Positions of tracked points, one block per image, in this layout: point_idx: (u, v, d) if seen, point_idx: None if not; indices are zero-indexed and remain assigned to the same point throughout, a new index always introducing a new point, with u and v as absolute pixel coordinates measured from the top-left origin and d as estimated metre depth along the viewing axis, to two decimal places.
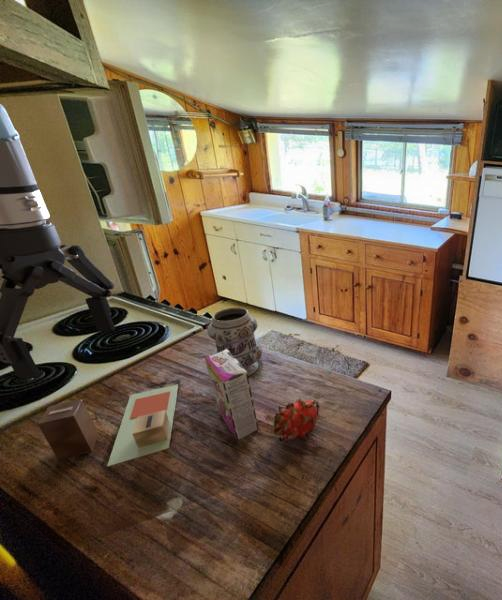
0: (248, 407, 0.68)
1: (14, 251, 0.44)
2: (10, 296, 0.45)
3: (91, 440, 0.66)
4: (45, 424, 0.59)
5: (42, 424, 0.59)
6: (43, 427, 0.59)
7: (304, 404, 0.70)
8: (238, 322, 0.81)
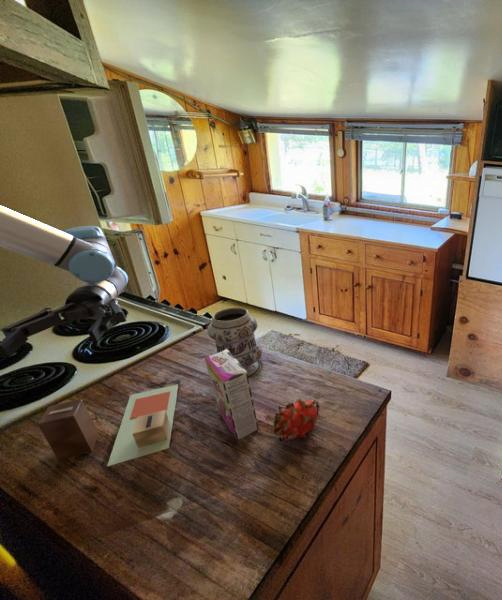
0: (248, 406, 0.68)
1: (105, 309, 0.80)
2: None
3: (91, 440, 0.66)
4: (45, 424, 0.59)
5: (42, 424, 0.59)
6: (43, 427, 0.59)
7: (304, 404, 0.70)
8: (238, 322, 0.81)
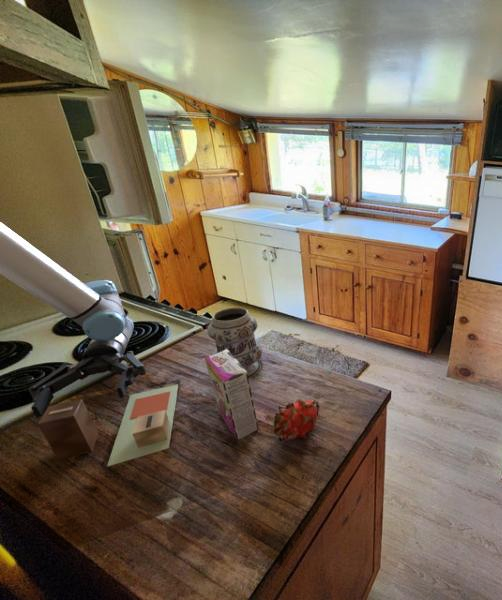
0: (248, 407, 0.68)
1: None
2: None
3: (91, 440, 0.66)
4: (45, 424, 0.59)
5: (42, 424, 0.59)
6: (43, 427, 0.59)
7: (304, 404, 0.70)
8: (238, 322, 0.81)
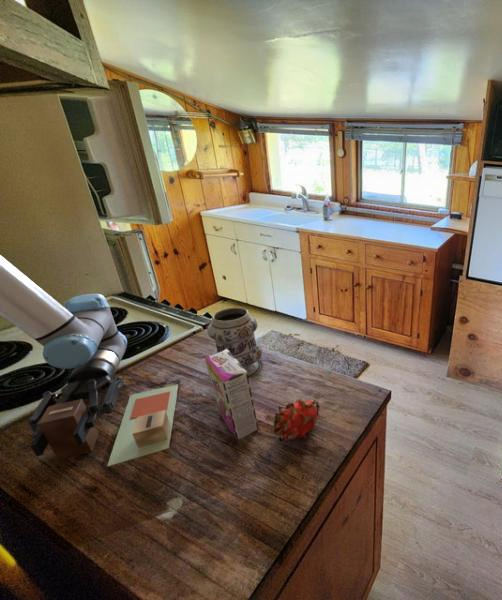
0: (248, 406, 0.68)
1: None
2: (98, 395, 0.71)
3: (91, 440, 0.66)
4: (45, 424, 0.59)
5: (42, 424, 0.59)
6: (42, 427, 0.59)
7: (304, 404, 0.70)
8: (238, 322, 0.81)
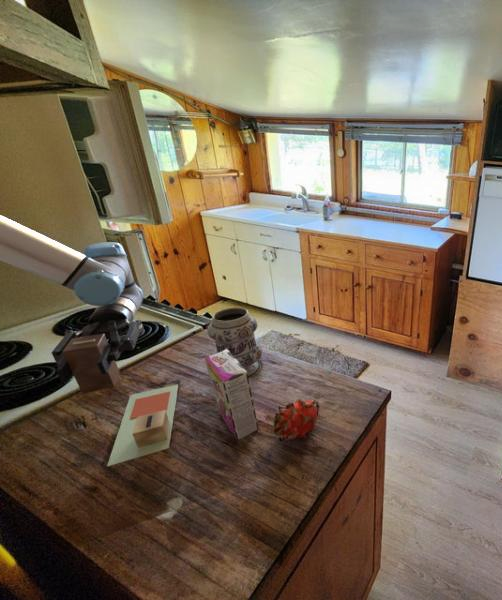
0: (248, 407, 0.68)
1: None
2: (118, 335, 0.72)
3: (113, 375, 0.66)
4: (69, 352, 0.60)
5: (67, 352, 0.60)
6: (67, 355, 0.60)
7: (304, 404, 0.70)
8: (238, 322, 0.81)
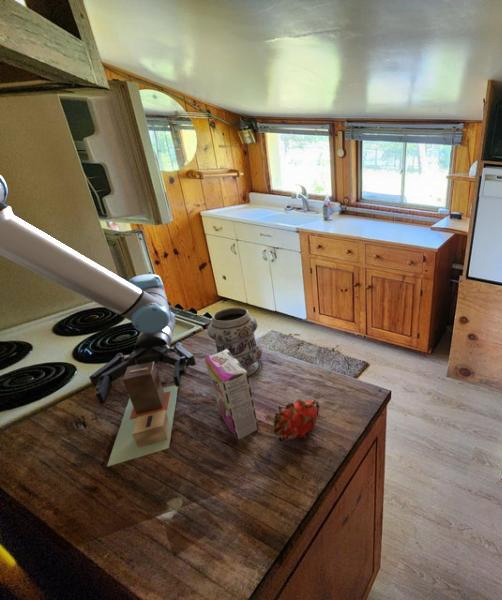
0: (248, 407, 0.68)
1: None
2: None
3: (161, 397, 0.77)
4: (128, 380, 0.70)
5: (126, 380, 0.70)
6: (126, 382, 0.70)
7: (304, 404, 0.70)
8: (238, 322, 0.81)
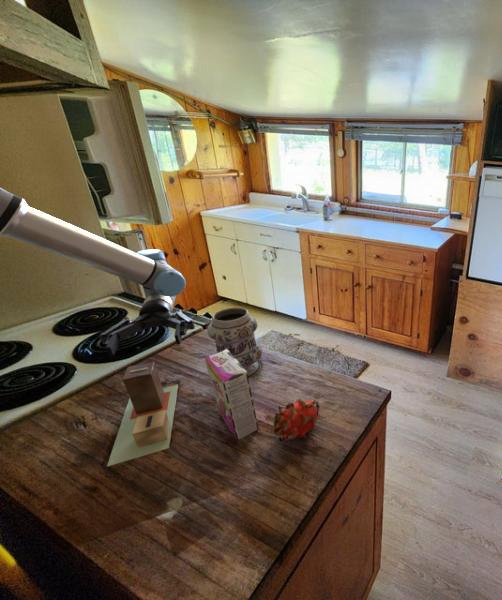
0: (248, 407, 0.68)
1: None
2: None
3: (161, 397, 0.77)
4: (128, 380, 0.70)
5: (126, 380, 0.70)
6: (126, 382, 0.70)
7: (304, 404, 0.70)
8: (238, 322, 0.81)
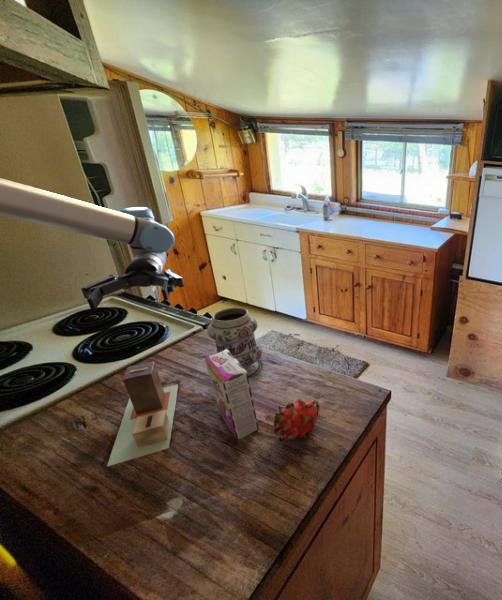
0: (248, 407, 0.68)
1: None
2: None
3: (161, 397, 0.77)
4: (128, 380, 0.70)
5: (126, 380, 0.70)
6: (126, 382, 0.70)
7: (304, 404, 0.70)
8: (238, 322, 0.81)
